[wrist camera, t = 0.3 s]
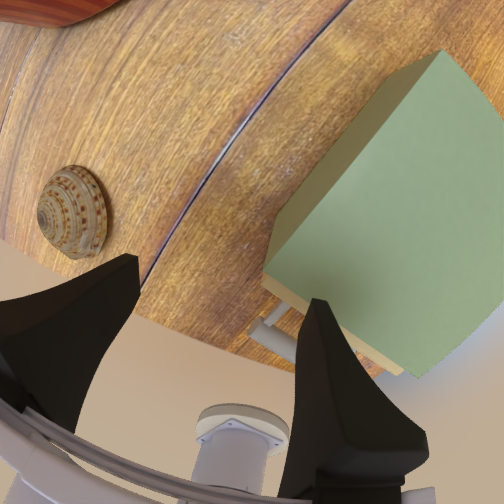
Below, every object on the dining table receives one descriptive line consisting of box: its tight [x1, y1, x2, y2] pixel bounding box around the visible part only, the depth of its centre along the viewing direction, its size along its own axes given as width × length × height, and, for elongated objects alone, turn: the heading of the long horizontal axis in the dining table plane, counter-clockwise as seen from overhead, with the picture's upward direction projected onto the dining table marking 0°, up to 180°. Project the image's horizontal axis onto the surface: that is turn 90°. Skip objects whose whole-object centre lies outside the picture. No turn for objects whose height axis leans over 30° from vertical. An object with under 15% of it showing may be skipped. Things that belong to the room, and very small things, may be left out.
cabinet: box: [262, 49, 504, 379], centre depth 16 cm, size 14×13×9 cm
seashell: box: [37, 165, 107, 260], centre depth 23 cm, size 8×6×8 cm
